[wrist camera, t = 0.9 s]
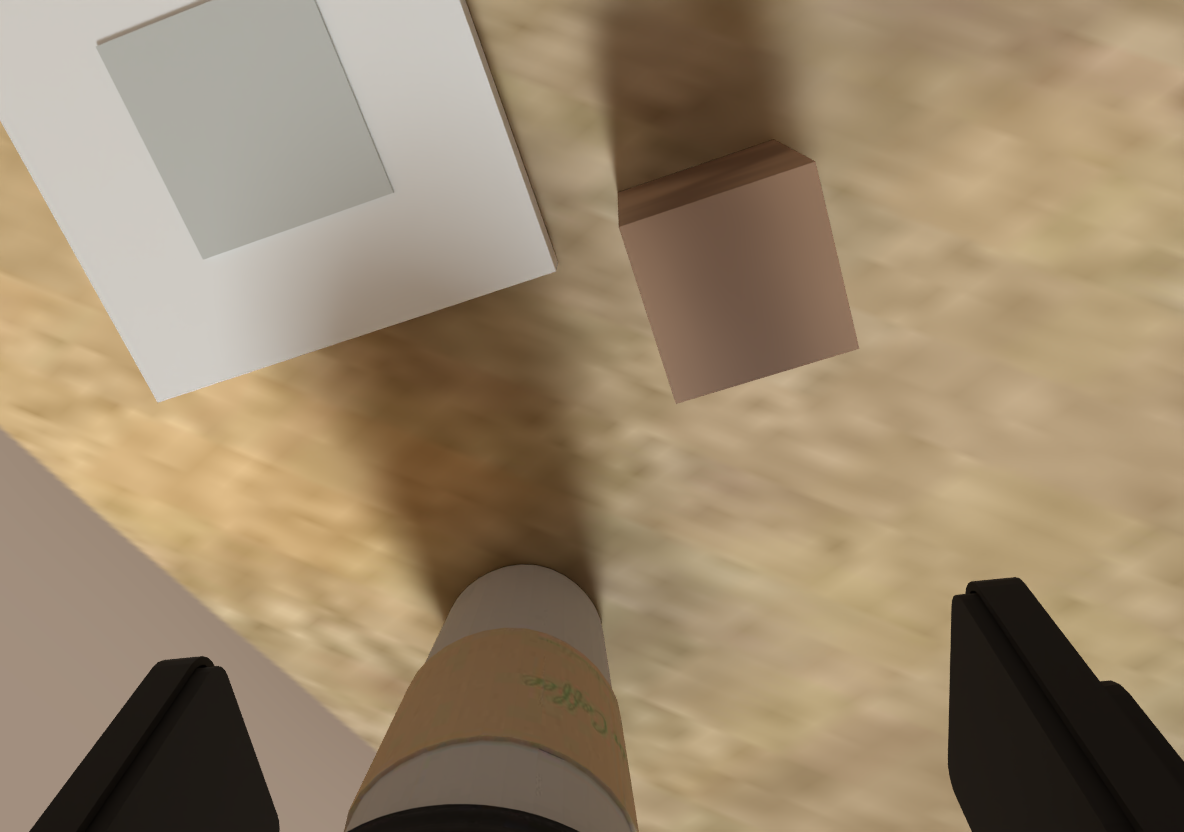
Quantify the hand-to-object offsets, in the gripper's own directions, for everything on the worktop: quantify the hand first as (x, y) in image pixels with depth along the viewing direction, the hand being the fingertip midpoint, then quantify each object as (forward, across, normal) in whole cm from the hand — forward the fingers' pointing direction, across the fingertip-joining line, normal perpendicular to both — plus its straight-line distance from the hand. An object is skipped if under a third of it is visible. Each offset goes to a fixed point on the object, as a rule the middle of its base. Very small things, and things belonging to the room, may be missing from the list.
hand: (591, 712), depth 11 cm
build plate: (+19, +10, -7) cm, 23 cm away
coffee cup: (+19, +5, +12) cm, 23 cm away
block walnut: (+19, -4, -2) cm, 20 cm away
